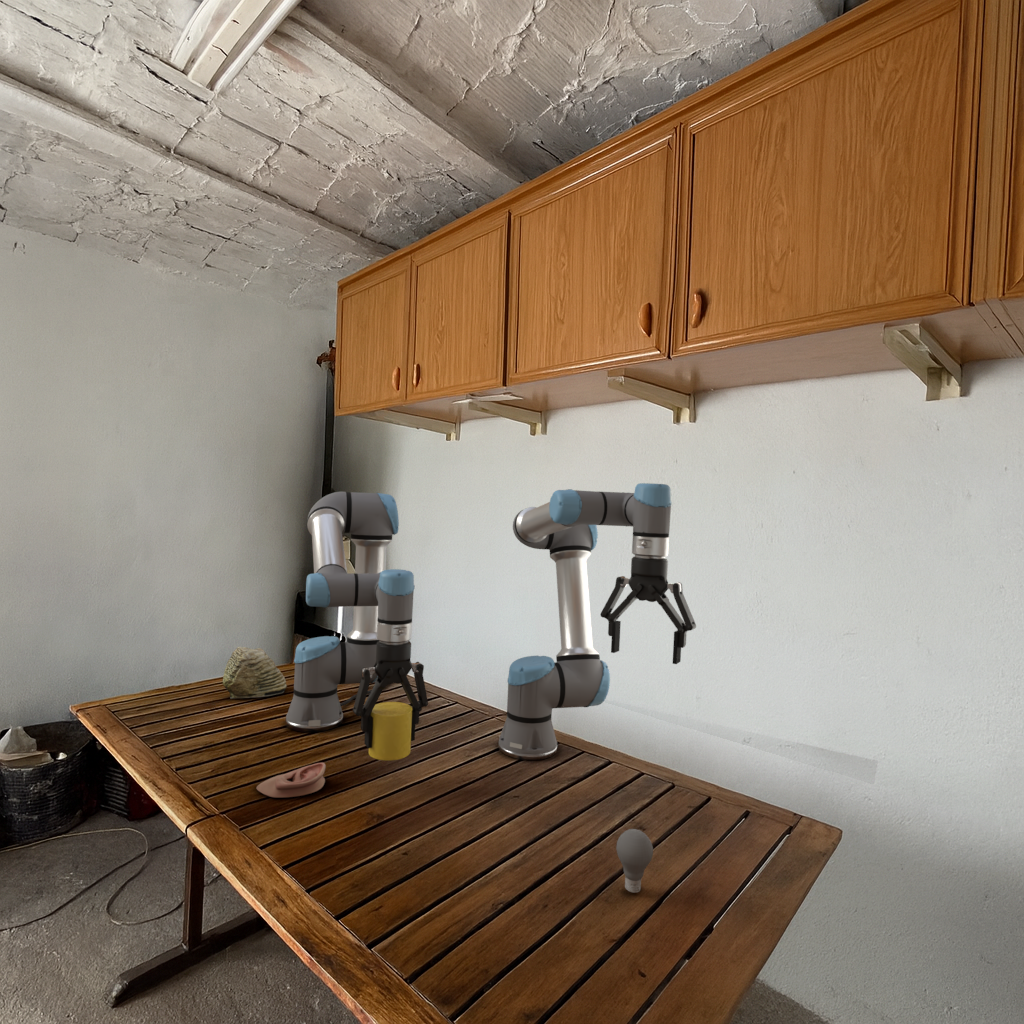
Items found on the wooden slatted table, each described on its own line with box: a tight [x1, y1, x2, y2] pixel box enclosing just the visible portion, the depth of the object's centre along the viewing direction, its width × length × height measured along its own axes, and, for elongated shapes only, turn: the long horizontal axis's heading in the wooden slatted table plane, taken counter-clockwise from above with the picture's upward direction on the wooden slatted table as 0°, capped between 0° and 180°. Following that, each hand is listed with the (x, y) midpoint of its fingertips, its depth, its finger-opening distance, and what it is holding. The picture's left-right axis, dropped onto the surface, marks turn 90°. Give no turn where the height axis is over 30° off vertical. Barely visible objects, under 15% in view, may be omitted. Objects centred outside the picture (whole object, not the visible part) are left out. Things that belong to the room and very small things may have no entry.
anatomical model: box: [256, 762, 327, 799], centre depth 137 cm, size 13×4×12 cm
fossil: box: [222, 646, 288, 699], centre depth 198 cm, size 9×18×15 cm, turn 132°
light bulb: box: [615, 828, 654, 894], centre depth 106 cm, size 6×6×10 cm
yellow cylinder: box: [368, 701, 412, 761], centre depth 139 cm, size 9×9×10 cm
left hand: (389, 742), depth 139 cm, fingers closed on yellow cylinder, 9 cm apart
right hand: (644, 657), depth 134 cm, fingers open, 13 cm apart
